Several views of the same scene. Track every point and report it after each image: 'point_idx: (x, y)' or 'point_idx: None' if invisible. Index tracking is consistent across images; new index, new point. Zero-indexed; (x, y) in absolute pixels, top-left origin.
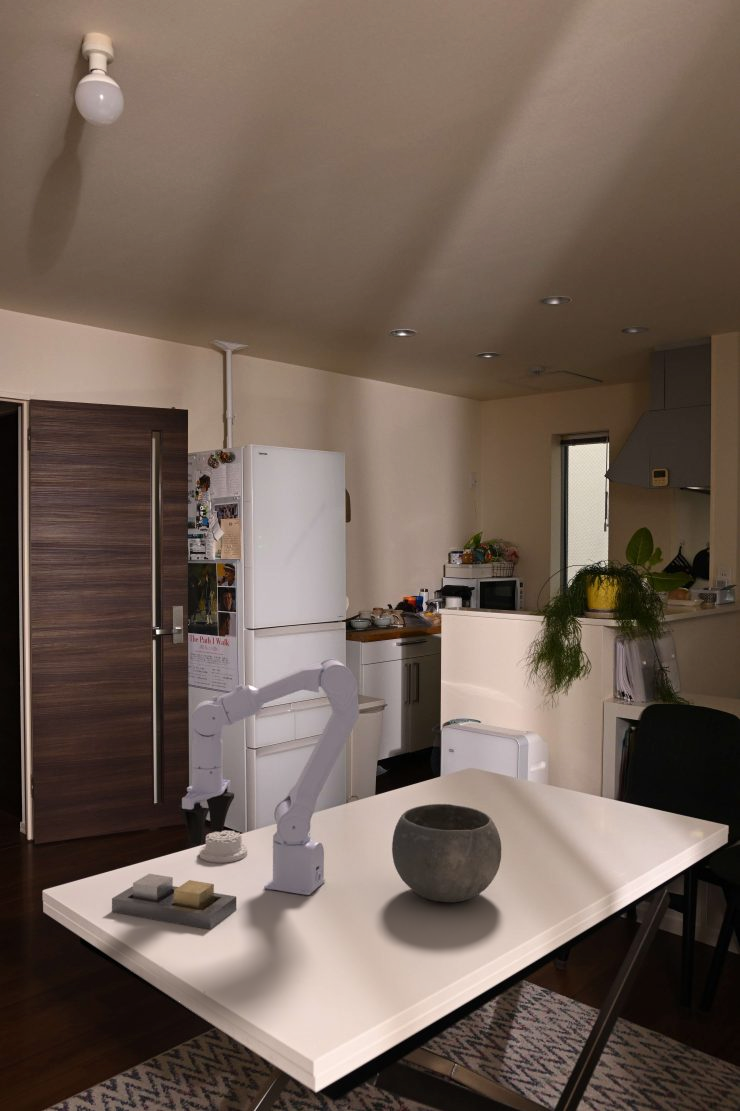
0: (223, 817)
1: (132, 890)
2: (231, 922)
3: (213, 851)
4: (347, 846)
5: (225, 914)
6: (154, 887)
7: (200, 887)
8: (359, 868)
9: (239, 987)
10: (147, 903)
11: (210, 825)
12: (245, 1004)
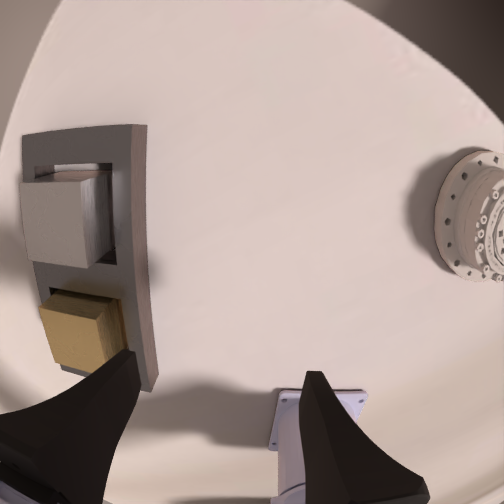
0: (305, 461)
1: (69, 147)
2: None
3: (462, 211)
4: (496, 405)
5: None
6: (28, 251)
7: (78, 357)
8: (403, 454)
9: (14, 403)
10: None
11: (310, 383)
12: (5, 408)
